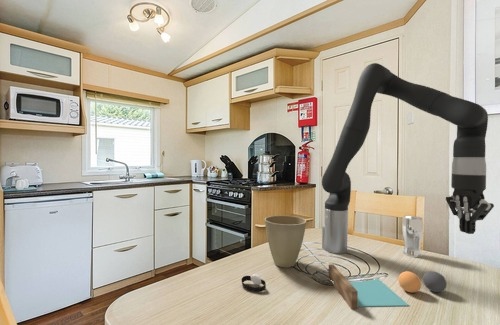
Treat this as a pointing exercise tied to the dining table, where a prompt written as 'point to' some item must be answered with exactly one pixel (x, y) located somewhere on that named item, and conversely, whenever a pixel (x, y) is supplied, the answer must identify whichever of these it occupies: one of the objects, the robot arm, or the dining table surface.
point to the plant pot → (285, 238)
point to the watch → (255, 280)
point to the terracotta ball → (409, 281)
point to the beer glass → (412, 235)
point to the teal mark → (376, 294)
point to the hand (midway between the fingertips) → (466, 232)
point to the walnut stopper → (343, 287)
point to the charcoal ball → (434, 281)
